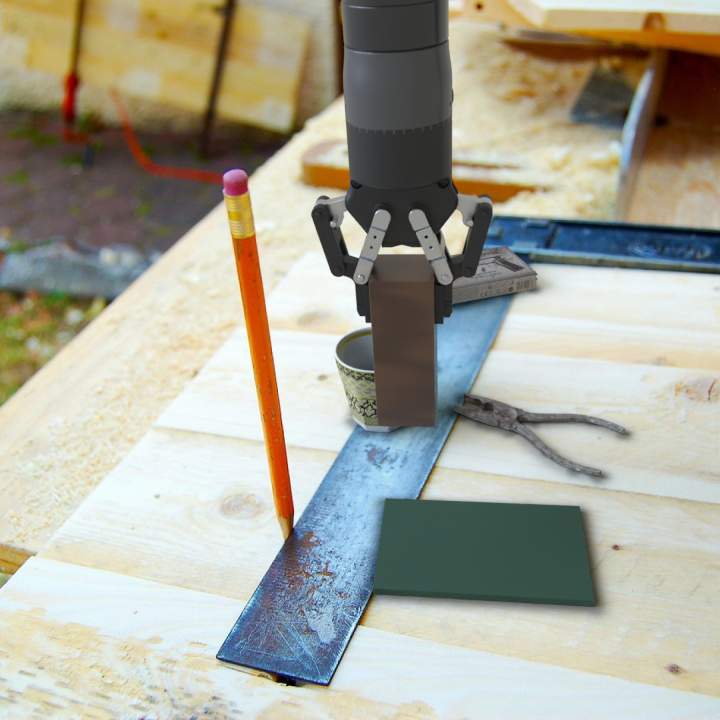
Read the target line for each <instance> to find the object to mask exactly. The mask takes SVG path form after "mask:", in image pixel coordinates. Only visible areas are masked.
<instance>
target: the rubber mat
mask: <svg viewBox="0 0 720 720" xmlns="http://www.w3.org/2000/svg"><path fill="white" fill-rule="evenodd" d="M380 526H381V527H380V533H379V534H380V535H379V542H378V549H377V556H376V563H375V571H374V577H373V586H372V592H373V593H372V594H373V595H388V596H406V597H423V598H440V599H458V600H459V599H460V600H475V601H492V602H493V601H495V602H508V603H509V602H511V603H527V604H542V605H543V604H544V605H545V604H546V605H563V606H578V607H581V606H582V607H595V602H596V599H595V592H594V587H593V580H592V575H591V567H590V563H589V556H588V549H587V544H586V543H587V542H586V538H585V531H584V525H583V518H582V512H581V507H580V505H568V504H567V505H566V504H563V505H562V504H540V503H539V504H538V503H537V504H536V503H519V502H518V503H515V502H491V501H490V502H488V501H467V500H466V501H465V500H443V499H442V500H438V499H419V498H418V499H417V498H415V499H413V498H395V497H394V498H391V497H385V498H384V505H383V511H382V519H381V525H380Z"/></svg>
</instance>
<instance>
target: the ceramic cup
mask: <svg viewBox="0 0 720 720" xmlns="http://www.w3.org/2000/svg"><path fill="white" fill-rule="evenodd" d="M333 354H334V360H335V364H336V368H337V372H338V375H339V378H340V380H341V383H342V385H343V388H344V393H345V397H346V399H347V403H348V407H349V409H350V413H351V415H352V418H353V421H355V422H356V423H357V424H358V425H359V426H360V427H361V428H363V429H364V430H365V431H367V432H373V433H375V432H376V433H391V432H393V431H395V430H396V429H398V428H400V427H401V426H382V425H378V424H377V408H376V392H375V376H374V360H373V345H372V329H371V326H366V327H361V328H358V329H355V330H353V331H350V332H348V333H346V334H345V335H344V336H342V337H341V338H340V339H339V340H338V341H337V342H336V343H335V345H334V349H333Z"/></svg>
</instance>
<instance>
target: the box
mask: <svg viewBox="0 0 720 720" xmlns="http://www.w3.org/2000/svg"><path fill="white" fill-rule="evenodd" d="M461 254H462V253H456V254H450V255H451V258H452V257H455V256H458V255H461ZM538 274H539V273H538V272H537V271H536V270H534V269H533V268H532V267H531V266H529V265H528V264H527V263H526V261H524V260H522V259H521V258H520V257H519V256H518V255H517V254H516V253H515V252H513V251H512V250H511V248H510V247H508V246H507V245H502V246H497V247H496V246H495V247H491V248H485V249H483V250H482V254H481V257H480V261H479V264H478V268H477V271H476V274H475V275H474V276H473V277H471V278H466V277H464V276H463V277H460V278H458V279H456V280H455V281H454V282H453V305H454V304H460V303H466V302H471V301H477V300H482V299H486V298H490V297H498V296H503V295H508V294H513V293H519V292H524V291H525V292H526V291H529V290H530V291H531V290H536V285H537V281H538V277H537V276H538Z"/></svg>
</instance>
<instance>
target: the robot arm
mask: <svg viewBox="0 0 720 720" xmlns="http://www.w3.org/2000/svg"><path fill="white" fill-rule="evenodd" d="M340 5H341V6H340V7H341V19H342V31H343V32H342V35H343V43H344V45H343V50H344V51H343V69H342V88H343V100H344V101H343V104H344V115H345V116H344V117H345V130H346V141H347V143H346V144H347V157H348V171H349V186H348V189H347V191H346V194H345V195H340V196H335V197H332V198H330V197H329V196H327V195H324V194H323V195H320V196H318V197H317V199H316V201H315V203H314V205H313V208H312V210H311V211H310V216H311V219H312V223H313V225H314V228H315V231H316V234H317V237H318V239H319V243H320V245H321V249H322V251H323V254H324V256H325V260H326V263H327V266H328V269H329V270H330V273H331V275H332V276H334V277H335V278H341V277H346V278H349V279H350V280H352V282H353V283H354V290H355V291H354V292H355V303H356V312H357V314H358V316H359V317H364V322H365V323H366V324H371V313H370V297H369V279H370V275H371V271H372V268H373V265H374V263H375V261H376V258H377V255H378V254H379V252H380V249H381V248H395V247H398V246H405V247H409V248H421V249H422V251H423V254H425V256H426V258H427V260H428V262H430V263H431V266H432V268H433V270H434V273H435V275H436V277H435V324H437V325H444V322H445V318H451V315H452V313H453V305H454V304H453V282H454V281H455V280H456V279H458V278H460V277H463V276H464V277H466V278H471V277H473V276H474V275H475V274H476V271H477V268H478V264H479V261H480V257H481V254H482V250H484V246H485V243H486V239H487V236H488V233H489V229H490V226H491V222H492V218H493V216H494V215H493V214H494V210H493V209H494V207H493V199H492V197H491V195H489V194H487V193H482V194H480V195H478V196H473V195H467V194H462V193H459V190H458V188H457V186H456V184H455V183H454V179H453V103H454V99H455V94H454V88H453V68H452V59H451V52H450V51H451V50H450V40H449V37H450V36H449V35H450V30H449V29H450V27H449V25H450V19H449V18H450V14H449V13H450V11H449V10H450V0H340ZM456 210H457V211H458V212H460V213H461V216H462V217H461V218H462V220H461V221H462V224H463V225H464V226H465V227H468V229H467V233H466V236H465V240H464V245H463V248H462V252H461V253H460V254H461V255H458V256H455V257H452V258H451V255H452V254H451V253H450V250H449V248H448V245H447V243H446V238H445V234H444V233H443V230H442V229H443V227H444V226H445V224H446V223H447V221H448V220H449V219H450V218H451V217H452V215H453V214H454V213H455V212H456ZM345 212H348V214H349V215H350V216H351V217H352V218H353V219H354V221H355V222H356V223H357V224H358V225H359V226H360V228H361V229H362V230H363V231H364V232H365V233H366V235H365V239H364V242H363V245H362V247H361V251H360V254H359V257H357V256H354V255H351V254H350V252H349V250H348V247H347V244H346V241H345V238H344V235H343V231H342V229H341V226H342V224H343V221H344V218H345Z"/></svg>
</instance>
